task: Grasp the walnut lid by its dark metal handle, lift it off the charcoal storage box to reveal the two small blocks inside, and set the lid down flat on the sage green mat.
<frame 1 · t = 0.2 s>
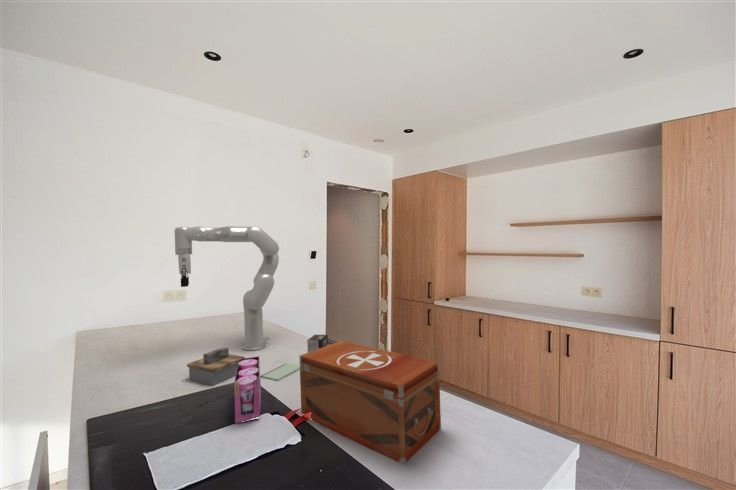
hand: (185, 285, 170), 37 cm above the table, tool pointing down, fingers open, 9 cm apart
lid: (216, 364, 144), point 6 cm above the table, touching storage box
storage box: (217, 378, 144), on the table
gum box: (249, 406, 118), on the table
wooden box: (368, 423, 105), on the table
ochre block: (219, 372, 148), point 1 cm above the table, touching storage box
off-white block: (205, 377, 142), point 1 cm above the table, touching storage box
sage mat: (277, 370, 150), on the table
coffee box: (318, 374, 145), on the table
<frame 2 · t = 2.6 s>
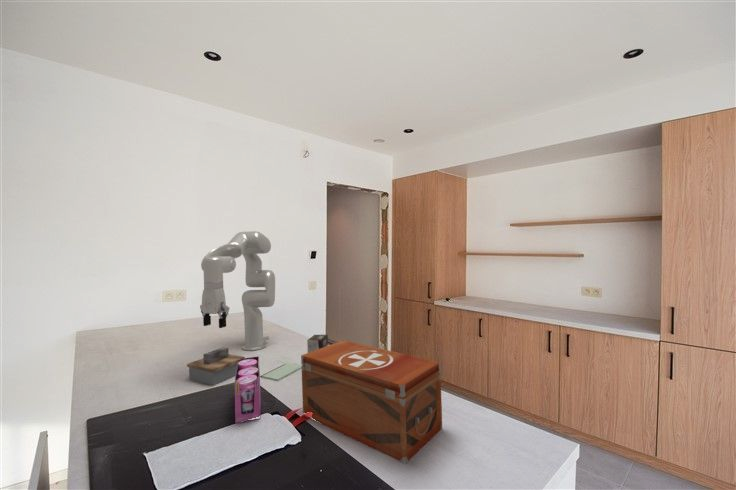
hand: (214, 326, 143), 22 cm above the table, tool pointing down, fingers open, 9 cm apart
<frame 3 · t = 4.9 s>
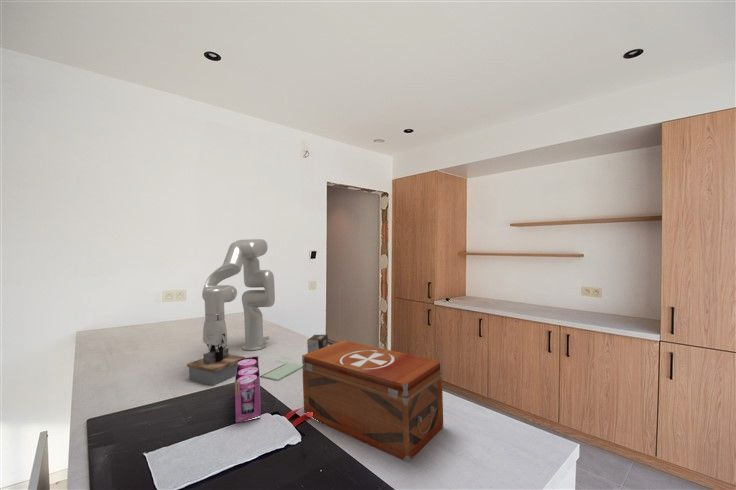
hand: (216, 359, 144), 8 cm above the table, tool pointing down, fingers closed on lid, 3 cm apart
lid: (216, 364, 144), point 6 cm above the table, touching gripper, storage box
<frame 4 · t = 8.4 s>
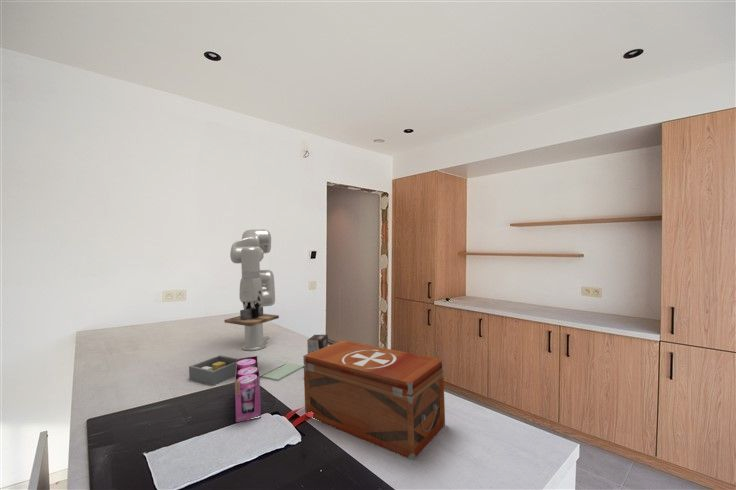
hand: (252, 316, 148), 25 cm above the table, tool pointing down, fingers closed on lid, 3 cm apart
lid: (252, 321, 148), point 23 cm above the table, touching gripper
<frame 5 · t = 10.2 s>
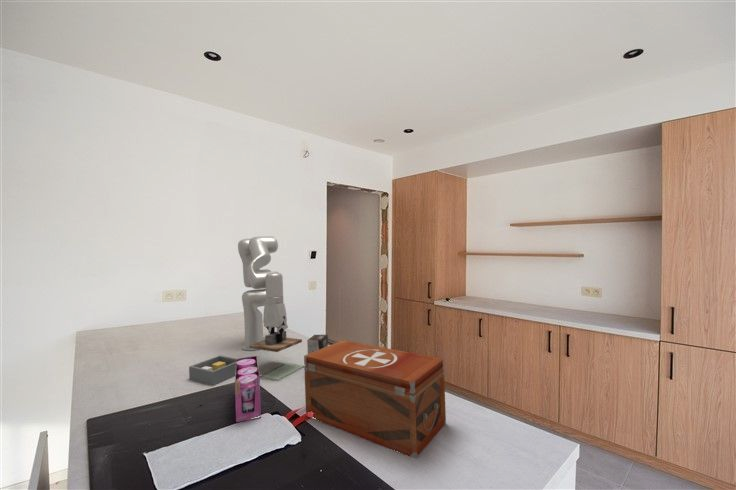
hand: (276, 341, 150), 13 cm above the table, tool pointing down, fingers closed on lid, 3 cm apart
lid: (276, 346, 150), point 11 cm above the table, touching gripper
when the fingers open (5 cm above the table, at t = 11.8 s): lid drops 2 cm, resting on sage mat.
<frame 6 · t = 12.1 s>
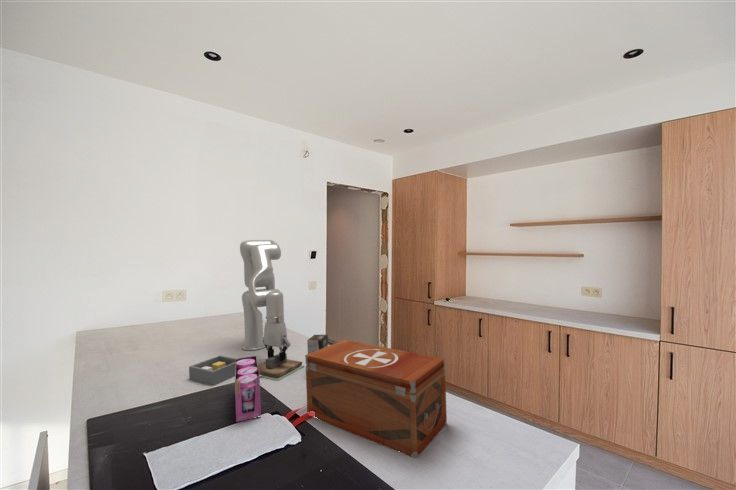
hand: (276, 359, 150), 5 cm above the table, tool pointing down, fingers open, 6 cm apart
lid: (276, 369, 150), point 1 cm above the table, touching sage mat
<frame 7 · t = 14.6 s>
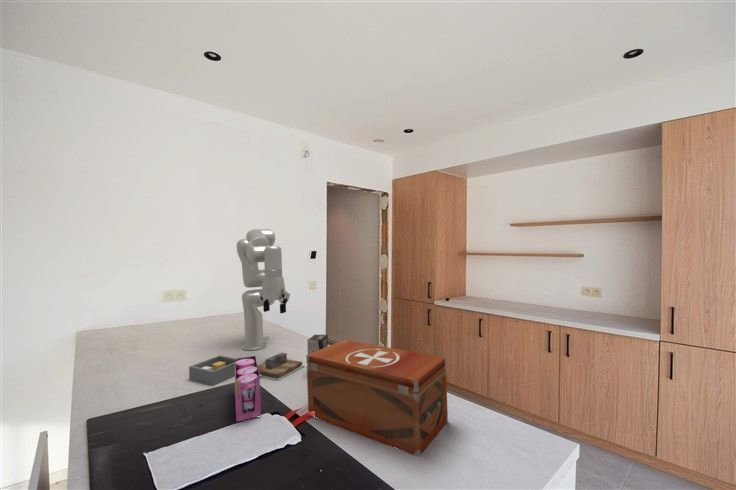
hand: (274, 312, 150), 26 cm above the table, tool pointing down, fingers open, 9 cm apart
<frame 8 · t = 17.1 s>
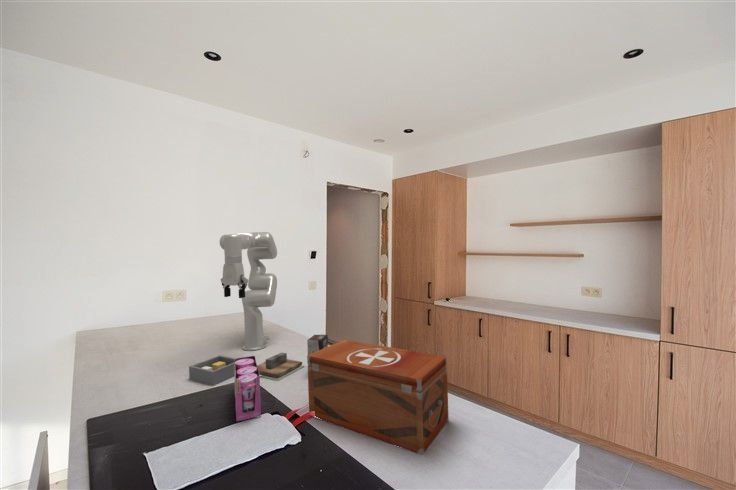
hand: (234, 297, 158), 32 cm above the table, tool pointing down, fingers open, 9 cm apart
at the end: lid inside the target area on the sage mat (0.1 cm from its centre), point 0.6 cm above the sage mat's base; lid tilted 0°; lid touching sage mat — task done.
